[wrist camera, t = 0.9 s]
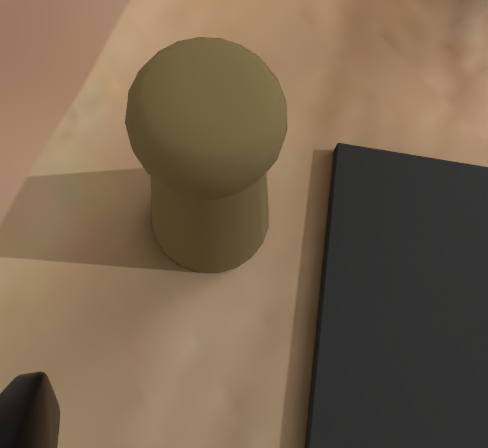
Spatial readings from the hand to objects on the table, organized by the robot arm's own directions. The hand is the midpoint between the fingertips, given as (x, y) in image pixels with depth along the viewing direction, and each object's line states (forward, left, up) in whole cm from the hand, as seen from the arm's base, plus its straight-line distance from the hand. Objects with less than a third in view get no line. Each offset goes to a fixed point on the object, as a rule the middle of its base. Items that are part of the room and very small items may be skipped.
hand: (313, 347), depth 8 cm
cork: (+7, +3, -14) cm, 16 cm away
